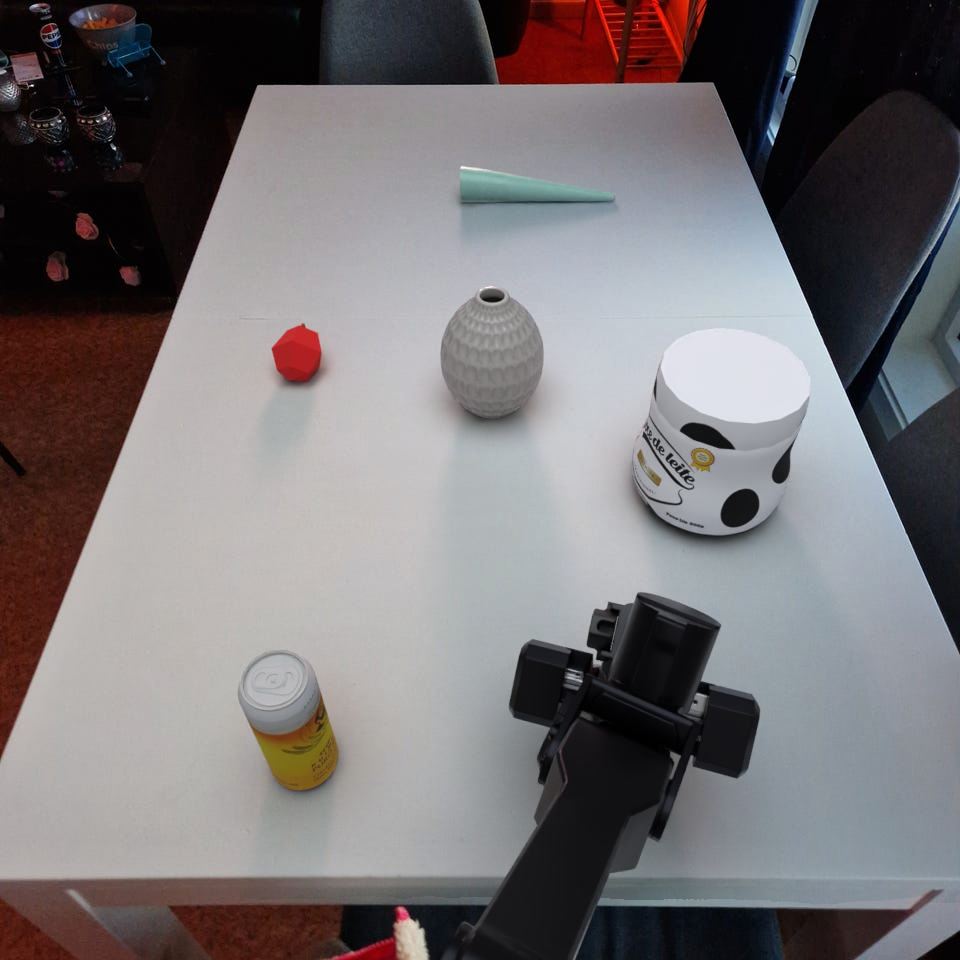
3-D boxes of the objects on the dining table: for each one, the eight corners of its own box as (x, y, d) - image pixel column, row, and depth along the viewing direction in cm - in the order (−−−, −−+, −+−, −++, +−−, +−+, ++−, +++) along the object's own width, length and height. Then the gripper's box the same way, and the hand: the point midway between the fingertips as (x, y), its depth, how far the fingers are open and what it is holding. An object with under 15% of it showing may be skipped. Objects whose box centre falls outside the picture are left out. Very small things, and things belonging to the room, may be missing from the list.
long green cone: (619, 178, 137) (459, 175, 138) (615, 209, 141) (459, 205, 142) (617, 163, 141) (461, 160, 142) (614, 193, 145) (462, 190, 146)
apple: (305, 365, 105) (318, 311, 108) (258, 365, 107) (272, 313, 110) (327, 391, 111) (339, 340, 114) (283, 391, 113) (295, 341, 116)
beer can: (334, 794, 73) (307, 715, 62) (266, 793, 73) (226, 714, 62) (343, 729, 77) (319, 644, 66) (278, 729, 77) (243, 644, 66)
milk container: (601, 506, 95) (619, 388, 82) (666, 420, 105) (692, 303, 92) (742, 573, 89) (787, 457, 75) (798, 476, 98) (846, 358, 85)
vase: (559, 415, 106) (569, 307, 94) (472, 449, 102) (470, 341, 90) (509, 360, 114) (511, 253, 101) (426, 390, 109) (418, 283, 97)
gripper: (790, 658, 55) (761, 616, 71) (522, 593, 59) (549, 567, 74) (754, 816, 56) (733, 740, 71) (491, 742, 60) (524, 685, 75)
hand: (633, 679), depth 73 cm, fingers closed on bottle, 6 cm apart
